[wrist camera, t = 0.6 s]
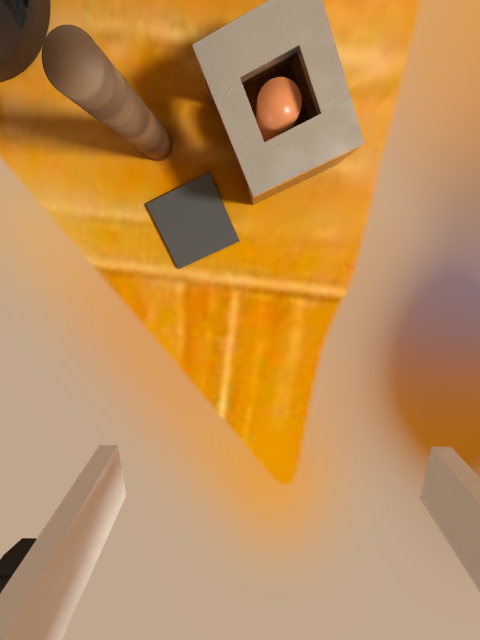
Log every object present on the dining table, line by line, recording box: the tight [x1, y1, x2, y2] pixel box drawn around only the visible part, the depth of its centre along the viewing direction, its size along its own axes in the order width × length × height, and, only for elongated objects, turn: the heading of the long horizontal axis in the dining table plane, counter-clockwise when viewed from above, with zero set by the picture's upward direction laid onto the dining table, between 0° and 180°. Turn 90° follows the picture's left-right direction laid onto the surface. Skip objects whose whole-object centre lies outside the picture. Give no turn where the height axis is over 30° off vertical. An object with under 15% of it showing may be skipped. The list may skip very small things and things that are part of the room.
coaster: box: [146, 172, 239, 269], centre depth 34 cm, size 8×8×1 cm
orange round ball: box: [256, 77, 302, 141], centre depth 27 cm, size 4×4×4 cm
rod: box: [42, 25, 172, 161], centre depth 24 cm, size 3×3×16 cm
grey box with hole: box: [192, 0, 364, 205], centre depth 27 cm, size 12×10×8 cm
